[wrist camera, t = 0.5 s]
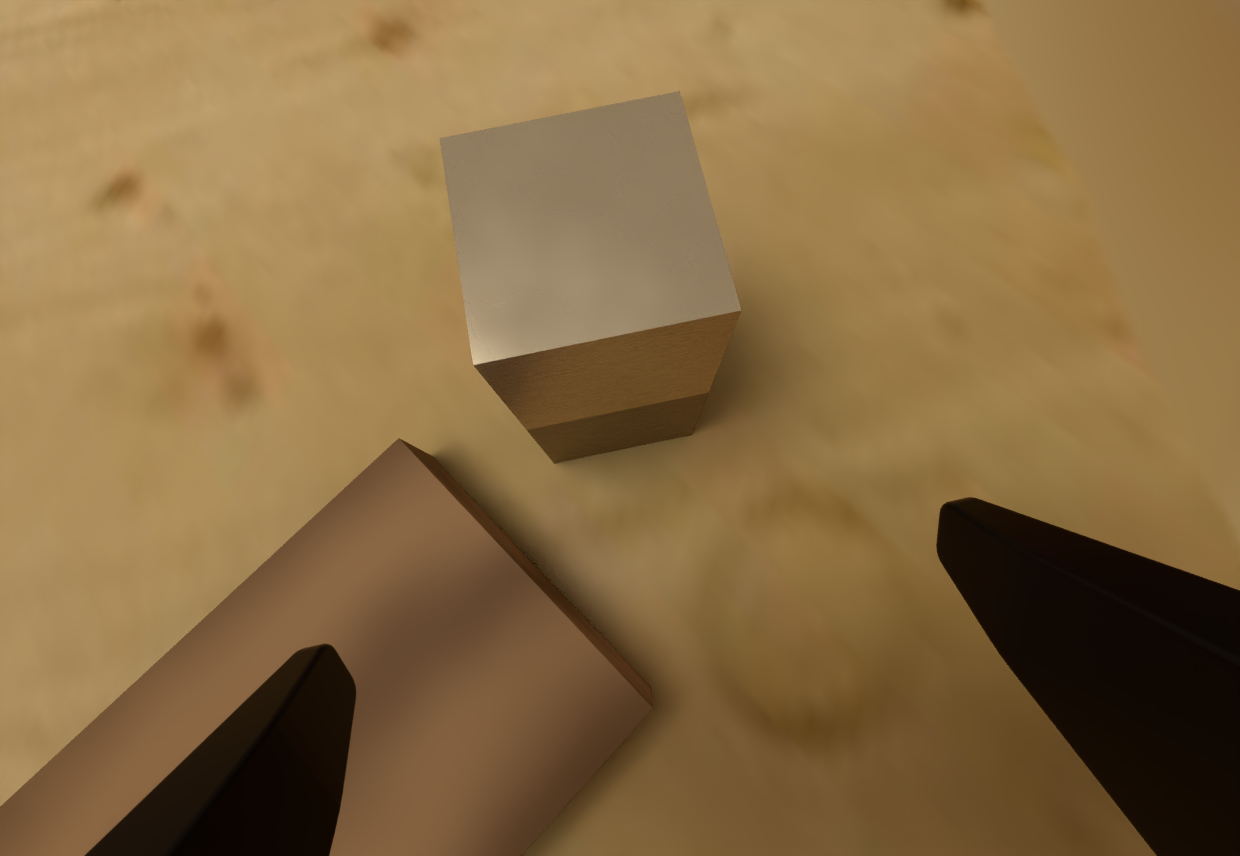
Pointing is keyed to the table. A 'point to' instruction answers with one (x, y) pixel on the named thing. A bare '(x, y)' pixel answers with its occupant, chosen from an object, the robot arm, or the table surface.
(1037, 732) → the table surface
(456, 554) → the stand
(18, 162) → the table surface
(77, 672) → the table surface
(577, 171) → the block
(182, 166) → the table surface
